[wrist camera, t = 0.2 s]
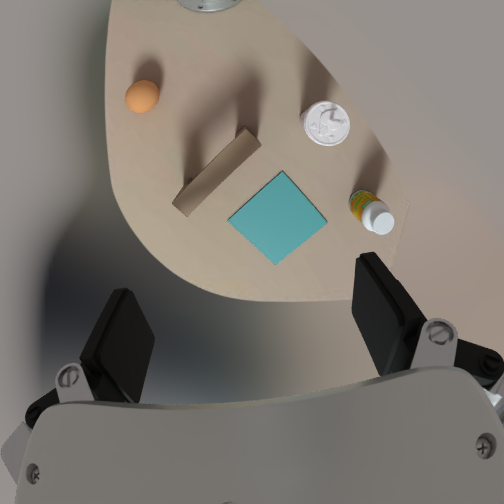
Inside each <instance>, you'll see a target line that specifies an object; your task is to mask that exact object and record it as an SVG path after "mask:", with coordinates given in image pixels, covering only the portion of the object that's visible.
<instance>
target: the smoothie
mask: <svg viewBox="0 0 504 504" xmlns="http://www.w3.org/2000/svg"><path fill="white" fill-rule="evenodd" d="M300 124H301V126H302V127H303V128H304V129H305V131H306V133H307V135H308V136H309V137H310V138H311V139H312V140H313V141H314V142H316V143H318V144H320V145H325V146H333V145H336V144H339V143H340V142H342V141H343V140H344V139H345V138H346V136H347V135H348V132H349V129H350V120H349V117H348V114H347V112H346V111H345V110H344V108H343V107H341V106H340V105H339V104H337V103H335V102H331V101H319V102H316V103H314V104H313V105H311V106H310V107H309V109H308V110H306V111H304V112H303V113H302V114H301V116H300Z"/></svg>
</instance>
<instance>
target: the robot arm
mask: <svg viewBox="0 0 504 504" xmlns="http://www.w3.org/2000/svg"><path fill="white" fill-rule="evenodd" d="M177 1H178V2H179V3H180V4H181V5H182V6H184V7H185V8H187V9H190V10H192V11H196V12H204V13H208V12H218V11H222V10H225V9H228V8H230V7H233V6H234V5H236V4H238V3H239V2H240V1H241V0H236V1H233V0H177ZM201 7H202V9H200V8H201ZM352 314H353V317H354V319H355V321H356V323H357V325H358V328H359V330H360V332H361V334H362V337H363V339H364V341H365V343H366V345H367V348H368V350H369V352H370V355H371V357H372V359H373V362H374V364H375V367H376V369H377V371H378V374H379V375H380V376H381V377H377V378H373V379H369V380H366V381H361V382H357V383H353V384H349V385H344V386H340V387H336V388H331V389H326V390H321V391H316V392H311V393H305V394H299V395H294V396H286V397H279V398H272V399H264V400H255V401H245V402H233V403H217V404H192V405H189V404H188V405H165V404H163V405H162V404H138V403H139V401H140V397H141V393H142V389H143V384H144V380H145V377H146V373H147V369H148V365H149V361H150V357H151V353H152V349H153V346H154V342H155V338H154V334H153V332H152V330H151V329H150V326H149V325H148V322H147V321H146V319H145V316H144V314H143V312H142V310H141V309H140V306H139V304H138V302H137V300H136V298H135V296H134V293H133V292H132V291H129V289H127V288H120V289H115V290H114V291H113V293H112V294H111V296H110V298H109V300H108V302H107V304H106V305H105V307H104V309H103V311H102V313H101V315H100V317H99V319H98V321H97V323H96V325H95V327H94V329H93V331H92V333H91V335H90V337H89V339H88V341H87V343H86V345H85V347H84V349H83V351H82V353H81V356H80V360H81V362H82V363H81V365H79V364H77V363H70V364H68V365H65V366H64V367H63V368H61V370H60V371H59V372H58V374H57V376H56V379H55V385H56V388H55V389H53V390H52V391H50V392H49V393H47V394H46V395H44V396H43V397H41V398H40V399H38V400H37V401H35V402H34V403H33V404H31V405H30V406H29V408H28V410H27V412H26V415H25V421H26V423H24V422H22V423H21V424H20V425H19V426H18V427H17V429H16V430H15V431H14V432H13V433H12V435H11V436H10V437H9V438H8V439H7V441H6V442H5V443H4V445H3V446H2V450H1V456H2V459H3V461H4V463H5V465H6V467H7V469H8V470H9V472H10V474H11V476H12V477H13V479H14V481H15V483H16V484H17V490H16V496H15V504H504V361H503V359H502V357H501V356H500V355H499V354H498V353H497V352H496V351H494V350H491V349H488V348H485V347H482V346H479V345H476V344H473V343H470V342H467V341H464V340H461V339H458V334H457V330H456V328H455V327H454V326H453V324H451V323H450V322H449V321H447V320H444V319H440V318H433V319H430V320H427V319H426V318H425V316H424V315H423V313H422V312H421V310H420V309H419V308H418V306H417V305H416V303H415V302H414V301H413V299H412V298H411V296H410V295H409V294H408V292H407V291H406V290H405V288H404V287H403V286H402V284H401V283H400V282H399V281H398V280H396V279H395V277H394V276H393V275H392V273H391V272H390V271H389V270H388V268H387V267H386V266H385V264H384V263H383V262H382V261H381V259H380V258H379V257H378V256H377V254H376V253H375V252H368V253H362V254H360V257H359V258H357V259H356V265H355V278H354V290H353V300H352Z"/></svg>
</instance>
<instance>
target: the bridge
mask: <svg viewBox="0 0 504 504" xmlns="http://www.w3.org/2000/svg"><path fill="white" fill-rule="evenodd" d="M260 146H262V145H261V143H260V142H259V140H258V139H257V138H256V137H255V136H254V135H253V134H252V133H251V132H250V131H249V130H248V129H247V128H246V127H245V126H244V127H243V128H242V129H241V130H239V131H238V132H237V133H236V134H235V139H234V140H233V141H232V142H231V143H230V144H229V145H228V146H227V147H225V148H224V149H223V150H222V151H221V152H220V153H219V154H218V155H217V156H216V157H215V158H214V159H213V160H212V161H211V162H210V163H209V164H208V165H207V166H206V167H205V168H204V169H203V170H202V171H201V172H200V173H199V174H198V175H197V176H196V177H195V178H194V179H192V178H191V179H190V180H189V181H188V182H187V183H186V184H185V185H184V186H183V187H182V189H181V190H180V192H179V193H178V195H177V196H176V198H175V199H174V201H173V202H172V204H173V205H174V206H175V207H176V208H177V209H178V210H179V211H181V212H182V213H183V214H184V215H185V216H186V217H188V216H189V215H190V214H191V212H192V211H193V210H194V209H195V208H196V207H197V206H198V205H199V204H200V203H201V202H202V201H203V200H204V199H205V198H206V197H207V196H208V195H209V194H210V193H211V192H212V191H213V190H214V189H215V188H217V187H218V186H219V185H220V184H221V183H222V182H223V181H224V180H225V179H226V178H227V177H228V176H229V175H230V174H231V173H232V172H233V171H234V170H235V169H236V168H237V167H239V166H240V165H241V164H242V163H243V162H244V161H245V160H246V159H247V158H248V157H249V156H250V155H252V154H253V153H254V152H255V151H256V150H257V149H258V148H259V147H260Z"/></svg>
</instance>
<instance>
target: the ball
mask: <svg viewBox="0 0 504 504" xmlns="http://www.w3.org/2000/svg"><path fill="white" fill-rule="evenodd" d="M158 100H159V90H158V87H157V86H156V85H155V84H154V83H153V82H151V81H148V80H141V81H137V82H135V83H134V84H132V85H131V86H130V87H129V88H128V90H127V92H126V95H125V102H126V105H127V106H128V108H129V109H130V110H132V111H133V112H137V113H144V112H147V111H149V110H151V109H152V108H153V107H154V106H155V105H156V104H157V102H158Z"/></svg>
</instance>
